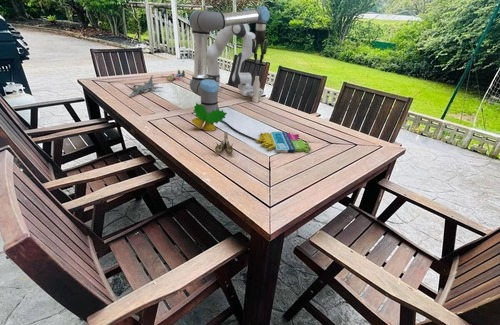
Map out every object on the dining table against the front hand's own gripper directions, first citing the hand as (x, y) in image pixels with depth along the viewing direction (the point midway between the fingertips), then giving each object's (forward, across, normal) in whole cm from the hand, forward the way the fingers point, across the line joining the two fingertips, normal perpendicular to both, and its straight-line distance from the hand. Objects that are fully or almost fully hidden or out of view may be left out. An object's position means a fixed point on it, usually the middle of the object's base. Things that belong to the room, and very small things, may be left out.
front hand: (258, 62), depth 208 cm
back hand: (+25, -1, 0) cm, 25 cm away
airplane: (+31, +87, +44) cm, 103 cm away
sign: (+31, -56, +61) cm, 89 cm away
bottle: (+31, 0, 0) cm, 31 cm away
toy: (+31, +108, -12) cm, 113 cm away
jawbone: (+31, -37, +91) cm, 103 cm away
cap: (-2, 0, 0) cm, 2 cm away
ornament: (+31, -10, +72) cm, 80 cm away
